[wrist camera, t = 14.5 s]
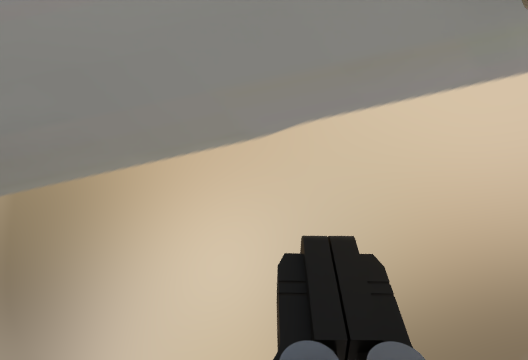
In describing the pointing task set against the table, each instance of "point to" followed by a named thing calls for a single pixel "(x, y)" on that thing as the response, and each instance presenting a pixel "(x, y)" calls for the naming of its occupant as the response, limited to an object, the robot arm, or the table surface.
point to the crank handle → (525, 3)
